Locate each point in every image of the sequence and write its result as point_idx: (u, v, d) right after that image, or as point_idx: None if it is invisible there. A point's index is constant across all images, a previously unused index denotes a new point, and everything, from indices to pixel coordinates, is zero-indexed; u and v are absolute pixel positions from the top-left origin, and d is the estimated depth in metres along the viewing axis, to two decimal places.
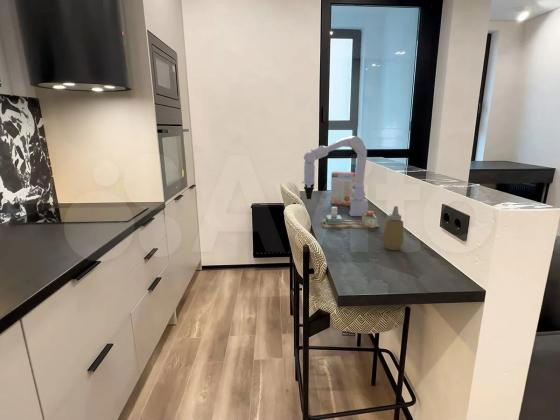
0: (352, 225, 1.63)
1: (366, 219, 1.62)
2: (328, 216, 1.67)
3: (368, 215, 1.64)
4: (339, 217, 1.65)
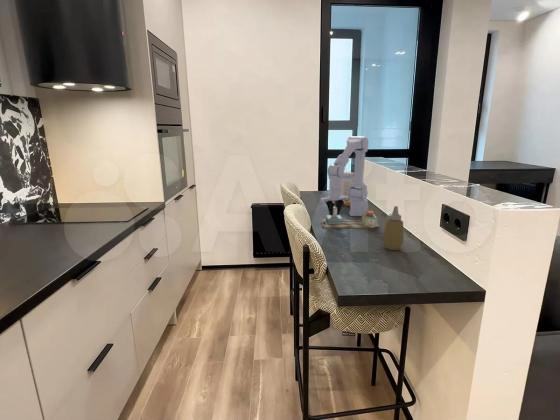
0: (352, 225, 1.63)
1: (366, 219, 1.62)
2: (328, 216, 1.67)
3: (368, 215, 1.64)
4: (339, 217, 1.65)
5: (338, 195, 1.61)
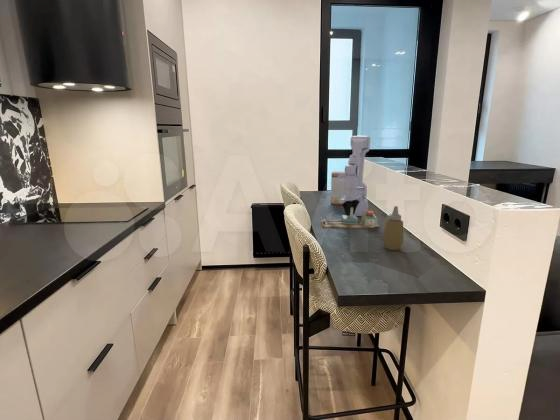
0: (352, 225, 1.63)
1: (366, 219, 1.62)
2: (344, 216, 1.67)
3: (368, 215, 1.64)
4: (355, 217, 1.65)
5: (355, 195, 1.61)
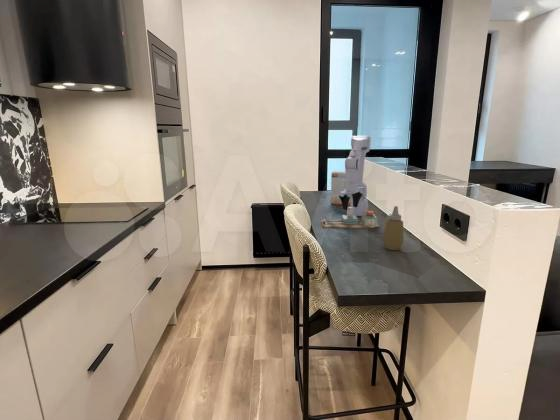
0: (352, 225, 1.63)
1: (366, 219, 1.62)
2: (344, 216, 1.67)
3: (368, 215, 1.64)
4: (355, 217, 1.65)
5: (356, 188, 1.60)
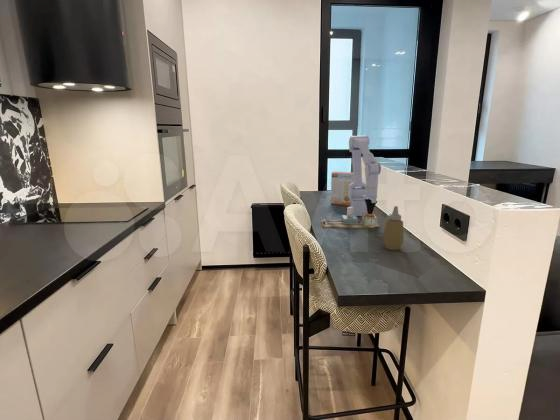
0: (352, 225, 1.63)
1: (366, 219, 1.62)
2: (344, 216, 1.67)
3: None
4: (355, 217, 1.65)
5: None
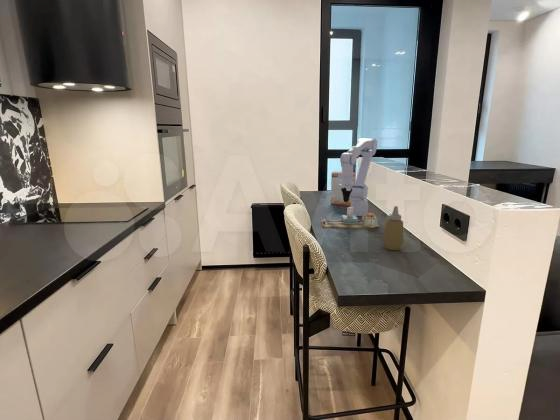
0: (352, 225, 1.63)
1: (366, 219, 1.62)
2: (344, 216, 1.67)
3: None
4: (355, 217, 1.65)
5: None
